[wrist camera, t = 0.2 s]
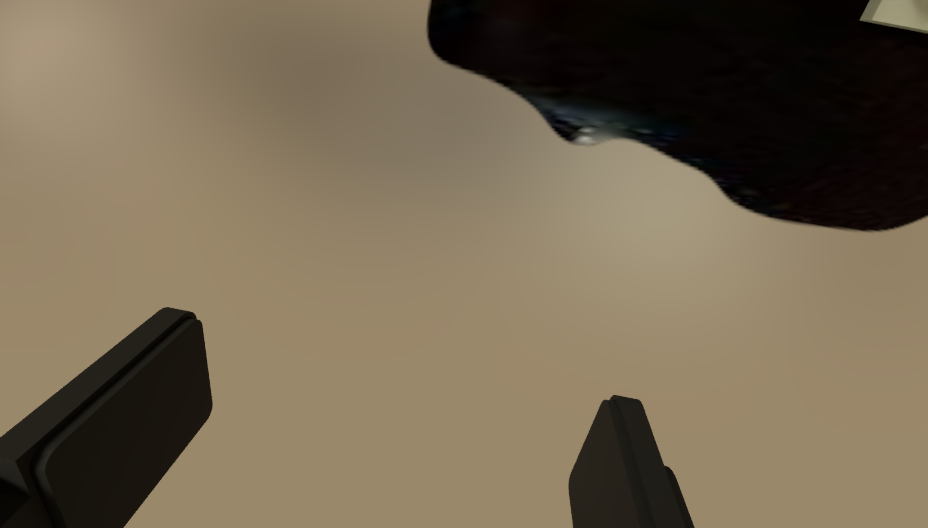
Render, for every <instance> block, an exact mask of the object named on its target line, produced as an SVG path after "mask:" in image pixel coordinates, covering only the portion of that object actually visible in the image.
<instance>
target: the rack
mask: <svg viewBox="0 0 928 528" xmlns="http://www.w3.org/2000/svg"><path fill="white" fill-rule="evenodd" d="M860 21H865V22H870V23H875V24H881V25H886V26H891V27H897V28H902V29H907V30H912V31H918V32H923V33H928V0H870V1H869V3H868V5H867V7H866V9H865V11H864V12H863V14H862V16H861V18H860Z"/></svg>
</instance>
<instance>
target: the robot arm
mask: <svg viewBox="0 0 928 528" xmlns="http://www.w3.org/2000/svg"><path fill="white" fill-rule="evenodd" d="M211 411H212V396H211V388H210V380H209V372H208V365H207V357H206V349H205V342H204V334H203V327H202V323H201V321H200V320H197V318H196V315H195V314H194V313H193V312H189V311H184V310H179V309H174V308H169V307H166V308H163V309H161V310H159V311H158V312H157V313H156V314H154V315H153V316H152V317H151V318H149V319H148V320H147V321H145V322H144V323H143V324H142V325H140V326H139V327H138V328H137V329H135V330H134V331H133V332H132V333H130V334H129V335H128V336H127V337H126V338H124V339H123V340H122V341H121V342H119V343H118V344H117V345H115V346H114V347H113V348H112V349H110V350H109V351H108V352H107V353H106V354H104V355H103V356H102V357H101V358H99V359H98V360H97V361H95V362H94V363H93V364H92V365H90V366H89V367H88V368H87V369H85V370H84V371H83V372H82V373H80V374H79V375H78V376H77V377H75V378H74V379H73V380H72V381H70V382H69V383H68V384H67V385H65V386H64V387H63V388H62V389H60V390H59V391H58V392H57V393H55V394H54V395H53V396H52V397H50V398H49V399H48V400H47V401H45V402H44V403H43V404H42V405H40V406H39V407H38V408H37V409H35V410H34V411H33V412H32V413H30V414H29V415H28V416H27V417H26V418H24V419H23V420H22V421H21V422H19V423H18V424H17V425H15V426H14V427H13V428H12V429H10V430H9V431H8V432H7V433H6V434H4V435H3V436H2V437H0V528H123V527H124V526H125V525H126V524H127V522H128V521H129V520H130V519H131V517H132V516H133V515H134V513H135V512H136V511H137V510H138V508H139V507H140V506H141V504H142V503H143V502H144V501H145V499H146V498H147V497H148V495H149V494H150V493H151V492H152V490H153V489H154V488H155V486H156V485H157V484H158V483H159V481H160V480H161V479H162V477H163V476H164V475H165V473H166V472H167V471H168V470H169V468H170V467H171V466H172V464H173V463H174V462H175V460H176V459H177V458H178V457H179V455H180V454H181V453H182V452H183V450H184V449H185V448H186V446H187V445H188V443H190V441H191V440H192V439H193V437H194V436H195V435H196V434H197V432H198V431H199V430H200V428H201V427H202V426H203V425H204V423H205V422H206V421H207V419H208V418H209V416H210V413H211ZM569 497H570V505H571V513H572V520H573V528H694V525H693V522H692V520H691V517H690V514H689V512H688V509H687V506H686V504H685V501H684V498H683V495H682V493H681V490H680V487H679V485H678V482H677V479H676V477H675V475H674V473H673V471H672V470H671V469H670V468H669V467H667V466H664V464H663V461H662V458H661V456H660V453H659V450H658V447H657V444H656V441H655V439H654V436H653V433H652V430H651V427H650V424H649V422H648V419H647V416H646V413H645V410H644V407H643V405H642V403H641V401H640V400H637V399H633V398H628V397H622V396H617V395H613V396H612V397H611V398H610V400H604V401H602V403H601V405H600V407H599V410H598V412H597V415H596V417H595V419H594V421H593V424H592V426H591V428H590V431H589V433H588V435H587V437H586V440H585V442H584V444H583V447H582V449H581V451H580V453H579V456H578V458H577V461H576V463H575V465H574V468H573V470H572V472H571V475H570V478H569Z"/></svg>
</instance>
